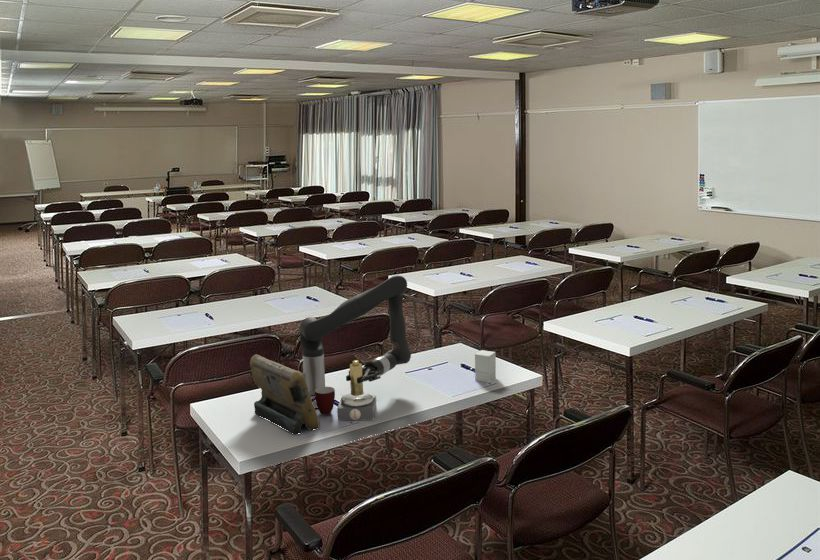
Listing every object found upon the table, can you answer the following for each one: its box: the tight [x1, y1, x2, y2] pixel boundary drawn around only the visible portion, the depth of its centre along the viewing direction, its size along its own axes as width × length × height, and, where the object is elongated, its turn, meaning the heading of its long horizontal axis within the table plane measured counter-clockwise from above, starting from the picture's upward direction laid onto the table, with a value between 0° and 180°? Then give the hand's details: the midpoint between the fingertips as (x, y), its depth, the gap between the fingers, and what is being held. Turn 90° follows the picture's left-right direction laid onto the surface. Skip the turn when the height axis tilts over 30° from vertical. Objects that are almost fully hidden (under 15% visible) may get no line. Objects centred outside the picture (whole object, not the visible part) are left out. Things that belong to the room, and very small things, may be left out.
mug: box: [311, 386, 336, 416], centre depth 273 cm, size 10×8×10 cm
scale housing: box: [336, 394, 377, 421], centre depth 273 cm, size 14×15×5 cm
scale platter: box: [340, 392, 373, 407], centre depth 273 cm, size 13×13×1 cm
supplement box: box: [474, 349, 497, 383], centre depth 309 cm, size 7×7×13 cm
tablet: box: [249, 354, 320, 435], centre depth 265 cm, size 33×14×25 cm, turn 49°
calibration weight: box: [349, 359, 364, 396], centre depth 271 cm, size 5×5×14 cm
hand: (352, 379), depth 269 cm, fingers closed on calibration weight, 5 cm apart
